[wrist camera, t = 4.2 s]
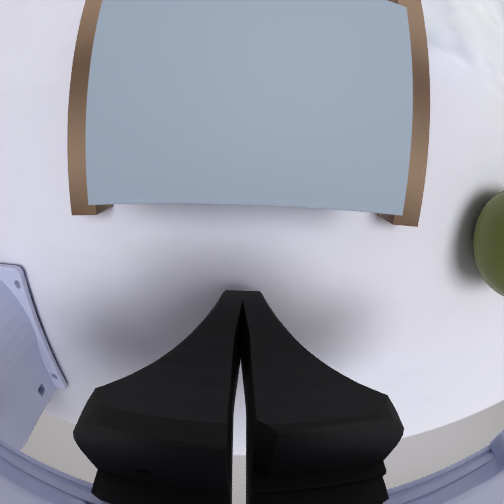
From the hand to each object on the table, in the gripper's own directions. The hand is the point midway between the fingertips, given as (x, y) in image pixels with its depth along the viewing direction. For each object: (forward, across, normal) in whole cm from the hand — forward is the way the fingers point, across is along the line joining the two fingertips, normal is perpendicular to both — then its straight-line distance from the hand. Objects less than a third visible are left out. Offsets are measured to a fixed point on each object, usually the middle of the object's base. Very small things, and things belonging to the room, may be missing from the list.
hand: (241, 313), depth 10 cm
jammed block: (+2, 0, -8) cm, 8 cm away
